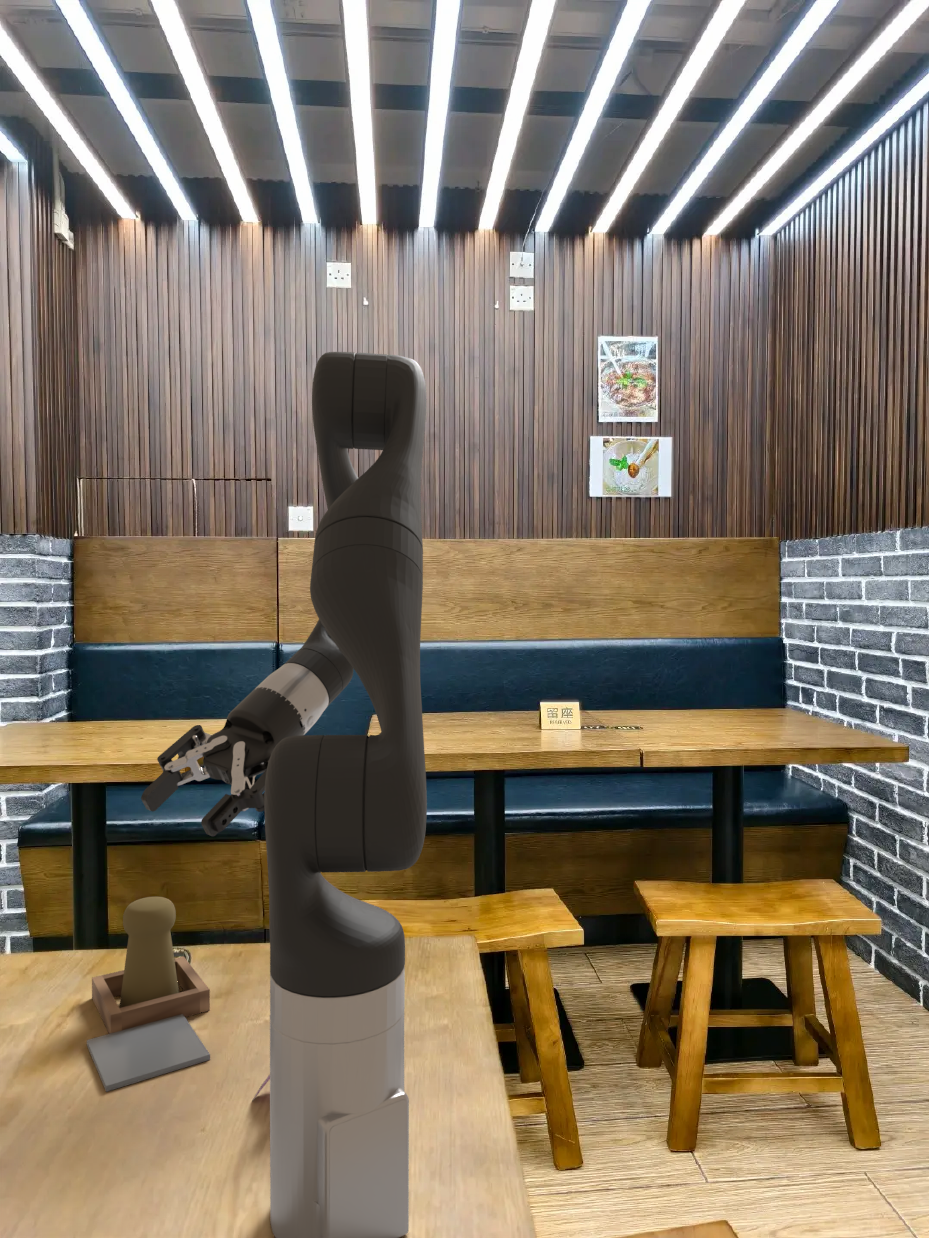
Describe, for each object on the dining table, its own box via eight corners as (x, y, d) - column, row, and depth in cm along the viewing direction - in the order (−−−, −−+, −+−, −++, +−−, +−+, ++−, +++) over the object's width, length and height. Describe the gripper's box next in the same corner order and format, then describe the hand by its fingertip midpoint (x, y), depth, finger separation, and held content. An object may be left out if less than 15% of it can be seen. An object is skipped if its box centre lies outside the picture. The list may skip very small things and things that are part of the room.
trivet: (210, 1059, 77) (210, 1054, 77) (106, 1091, 72) (106, 1085, 72) (182, 1018, 84) (182, 1013, 84) (86, 1045, 79) (86, 1039, 79)
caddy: (209, 1010, 86) (209, 989, 86) (110, 1037, 81) (110, 1014, 81) (183, 975, 94) (183, 955, 94) (92, 997, 89) (91, 977, 88)
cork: (189, 992, 90) (189, 891, 90) (164, 1020, 84) (163, 912, 84) (136, 989, 91) (136, 889, 90) (107, 1016, 85) (106, 910, 84)
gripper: (222, 673, 94) (112, 772, 83) (320, 700, 87) (215, 811, 76) (242, 722, 98) (140, 822, 87) (338, 751, 91) (240, 864, 80)
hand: (175, 817), depth 82 cm, fingers open, 8 cm apart
